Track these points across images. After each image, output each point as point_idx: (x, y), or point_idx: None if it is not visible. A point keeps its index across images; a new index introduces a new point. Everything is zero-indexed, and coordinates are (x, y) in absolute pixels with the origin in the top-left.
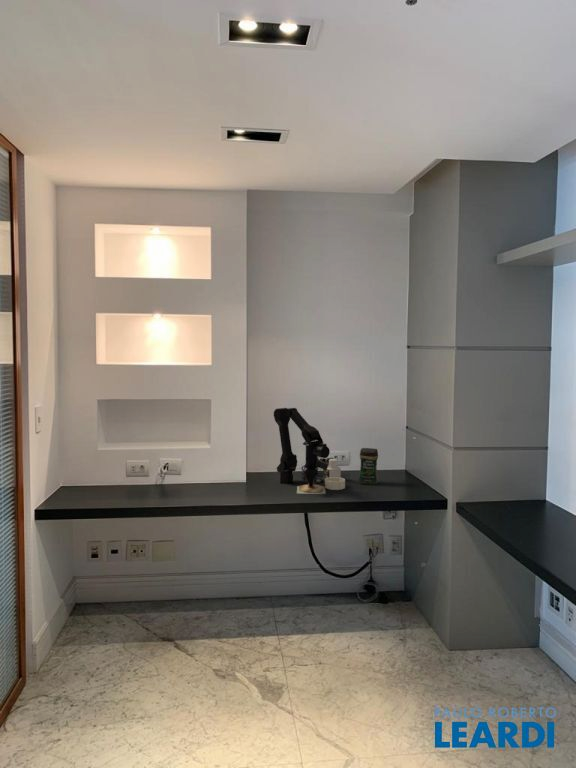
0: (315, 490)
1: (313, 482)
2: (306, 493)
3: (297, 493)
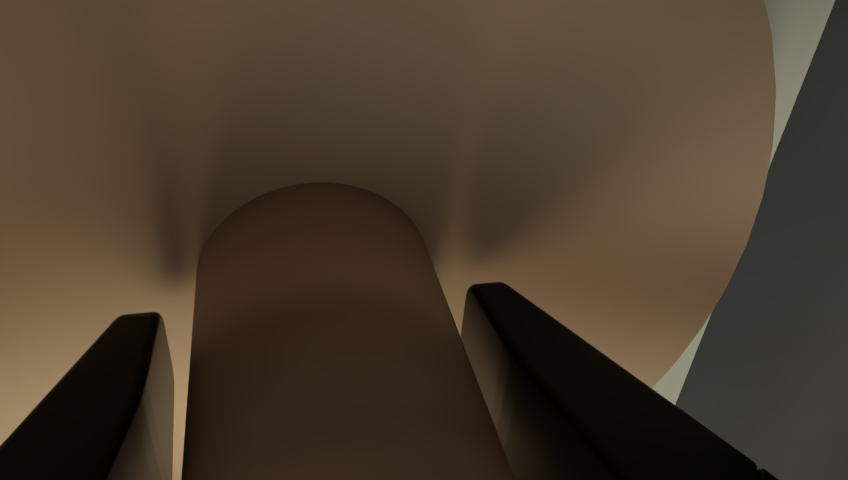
0: (771, 109)
1: (438, 367)
2: None
3: None
